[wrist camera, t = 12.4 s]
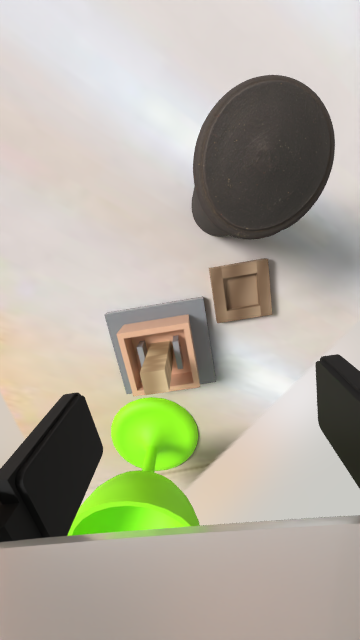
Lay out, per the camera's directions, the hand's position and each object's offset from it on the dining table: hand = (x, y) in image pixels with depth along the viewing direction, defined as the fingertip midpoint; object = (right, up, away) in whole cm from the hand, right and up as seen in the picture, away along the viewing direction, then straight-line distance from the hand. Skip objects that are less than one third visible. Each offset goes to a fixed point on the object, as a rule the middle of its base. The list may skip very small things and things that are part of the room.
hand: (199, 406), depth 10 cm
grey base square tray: (-4, -1, +30) cm, 30 cm away
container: (+5, +19, +24) cm, 31 cm away
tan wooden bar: (-4, -1, +28) cm, 29 cm away
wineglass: (-5, -18, +36) cm, 40 cm away
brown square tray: (+8, +8, +27) cm, 29 cm away
